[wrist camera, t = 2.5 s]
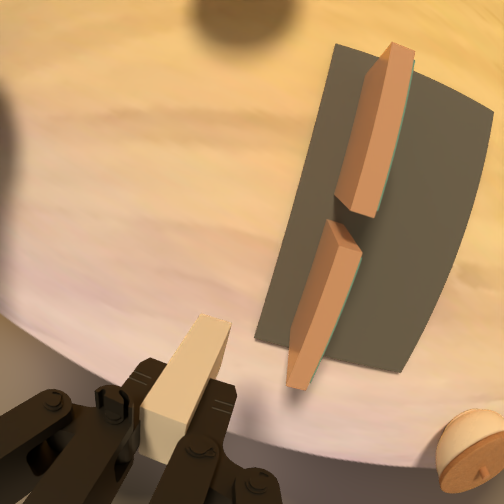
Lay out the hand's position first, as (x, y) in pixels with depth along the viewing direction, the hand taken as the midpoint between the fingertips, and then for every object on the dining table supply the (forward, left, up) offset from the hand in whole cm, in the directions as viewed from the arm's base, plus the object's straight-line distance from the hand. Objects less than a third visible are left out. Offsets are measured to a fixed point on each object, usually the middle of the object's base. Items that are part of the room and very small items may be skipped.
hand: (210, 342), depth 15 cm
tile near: (+6, +12, -12) cm, 18 cm away
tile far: (+6, 0, -12) cm, 14 cm away
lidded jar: (+32, -14, -13) cm, 37 cm away
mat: (+10, +6, -13) cm, 17 cm away
